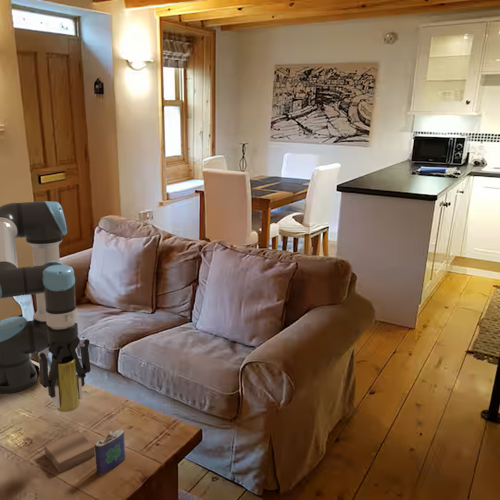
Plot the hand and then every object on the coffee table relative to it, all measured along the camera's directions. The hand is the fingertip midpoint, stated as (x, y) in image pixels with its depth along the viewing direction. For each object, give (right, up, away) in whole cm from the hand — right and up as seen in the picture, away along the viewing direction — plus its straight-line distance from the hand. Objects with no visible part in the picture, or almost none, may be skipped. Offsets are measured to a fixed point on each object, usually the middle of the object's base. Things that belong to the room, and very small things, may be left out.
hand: (67, 401), depth 131 cm
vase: (0, -2, 0) cm, 2 cm away
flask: (+12, -18, +1) cm, 22 cm away
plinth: (-1, -17, +4) cm, 17 cm away
